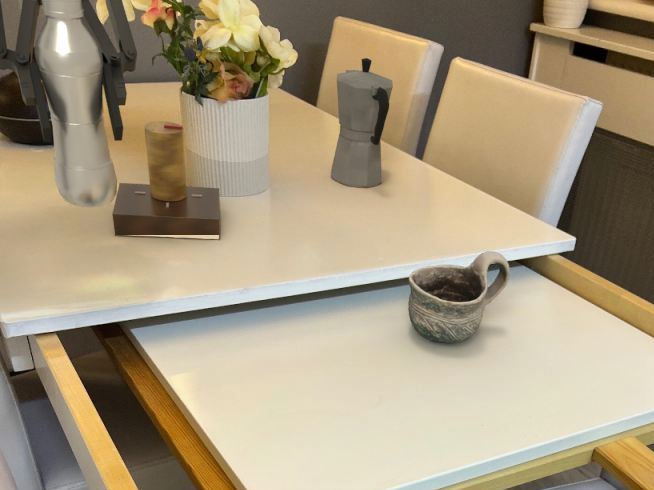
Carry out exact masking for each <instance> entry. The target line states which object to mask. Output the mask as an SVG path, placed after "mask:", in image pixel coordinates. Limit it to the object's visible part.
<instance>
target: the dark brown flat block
mask: <svg viewBox="0 0 654 490" xmlns="http://www.w3.org/2000/svg"><path fill="white" fill-rule="evenodd" d="M186 188H187V196H186V198H184V199H182V200H179V201H161V200H158V199H155V198H153V197H152V196H151V194H150V183H149V184H148V183H132V182H131V183H130V182H129V183H128V182H126V183H125V182H119V184H118V187H117V192H116V195H115V197H116V198H115V200H114V205H113V209H112V210H113V211H112V223H113V230H114V236H116V235H220V236H221V221H220V220H221V216H220V215H221V210H220V209H221V208H220V207H221V205H220V188H219V187H203V186H187V185H186ZM116 237H117V236H116Z"/></svg>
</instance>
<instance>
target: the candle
mask: <svg viewBox="0 0 654 490" xmlns="http://www.w3.org/2000/svg"><path fill="white" fill-rule="evenodd" d="M144 135H145V146H146V159H147V169H148V181H149V184H150V194H151V196H152V197H153V198H155V199H158V200H161V201H179V200H182V199H184V198H186V196H187V188H186V186H187V174H186V158H185V157H186V155H185V140H184V127H183V125H181V124H179V123H177V122H174V121H173V122H172V121H167V120H155V121H150V122H148V123H146V124H144Z"/></svg>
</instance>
